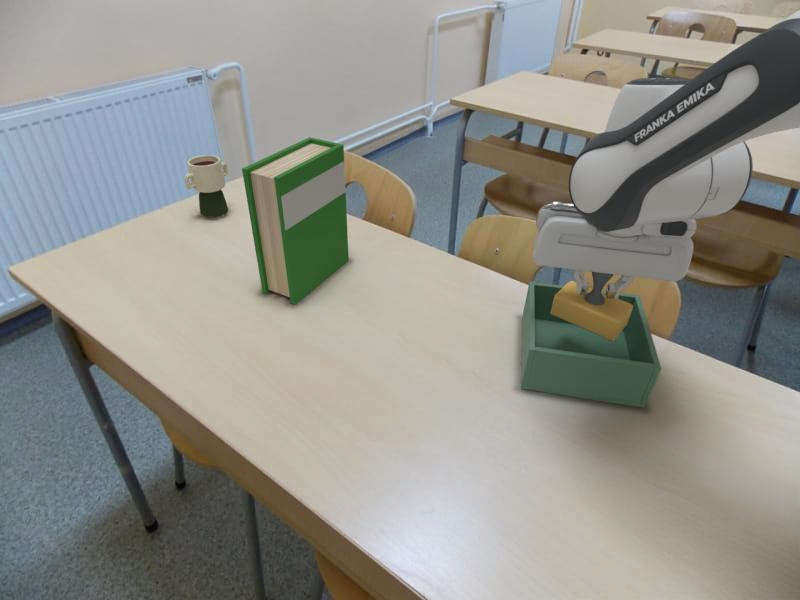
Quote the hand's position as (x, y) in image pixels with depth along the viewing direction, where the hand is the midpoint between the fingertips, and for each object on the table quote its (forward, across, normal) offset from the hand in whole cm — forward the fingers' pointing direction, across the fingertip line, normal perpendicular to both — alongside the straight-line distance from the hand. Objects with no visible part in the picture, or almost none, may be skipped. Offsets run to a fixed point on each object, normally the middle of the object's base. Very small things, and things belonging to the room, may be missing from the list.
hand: (596, 294), depth 75 cm
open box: (+13, 0, 0) cm, 13 cm away
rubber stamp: (+5, 0, 0) cm, 5 cm away
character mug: (+13, -80, +33) cm, 87 cm away
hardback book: (+13, -50, +13) cm, 53 cm away
